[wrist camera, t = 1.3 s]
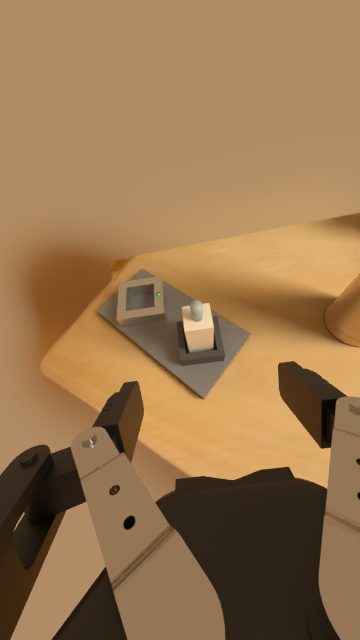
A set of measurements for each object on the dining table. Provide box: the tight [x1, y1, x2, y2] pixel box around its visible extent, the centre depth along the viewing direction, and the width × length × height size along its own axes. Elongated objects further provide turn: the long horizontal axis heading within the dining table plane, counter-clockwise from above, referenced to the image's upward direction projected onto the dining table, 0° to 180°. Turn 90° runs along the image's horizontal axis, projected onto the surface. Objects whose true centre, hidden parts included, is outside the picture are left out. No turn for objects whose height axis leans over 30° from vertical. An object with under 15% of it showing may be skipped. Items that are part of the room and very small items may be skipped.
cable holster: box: [177, 316, 225, 366], centre depth 37 cm, size 7×7×3 cm
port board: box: [97, 269, 250, 399], centre depth 42 cm, size 14×28×2 cm, turn 51°
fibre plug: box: [182, 300, 214, 353], centre depth 32 cm, size 4×4×13 cm
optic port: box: [116, 276, 167, 327], centre depth 42 cm, size 9×9×3 cm
